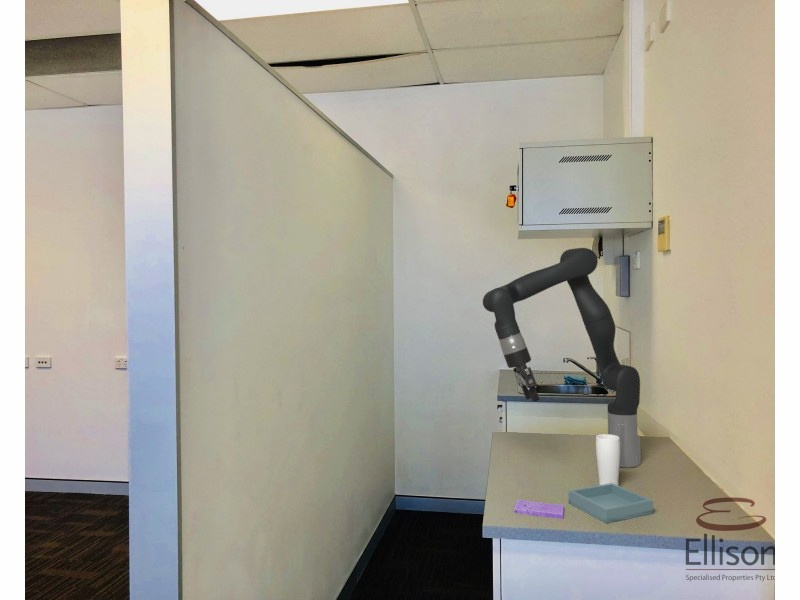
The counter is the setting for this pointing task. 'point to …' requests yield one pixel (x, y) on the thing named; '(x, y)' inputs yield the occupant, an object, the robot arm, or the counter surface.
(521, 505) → the sponges
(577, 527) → the counter surface
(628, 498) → the tray
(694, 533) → the counter surface
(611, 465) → the white paper cup
